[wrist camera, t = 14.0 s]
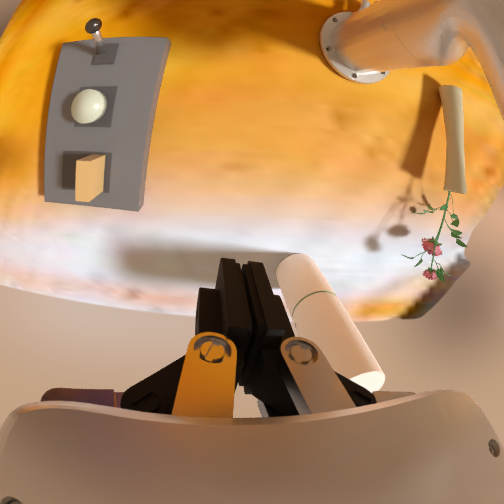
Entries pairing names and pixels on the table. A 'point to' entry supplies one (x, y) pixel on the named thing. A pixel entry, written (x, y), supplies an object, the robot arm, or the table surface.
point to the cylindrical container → (326, 321)
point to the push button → (88, 106)
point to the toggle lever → (96, 33)
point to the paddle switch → (89, 177)
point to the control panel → (105, 118)
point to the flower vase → (449, 169)
